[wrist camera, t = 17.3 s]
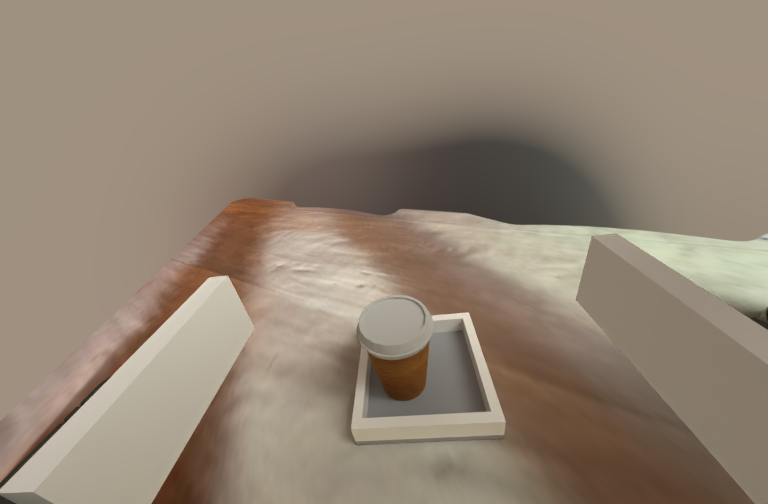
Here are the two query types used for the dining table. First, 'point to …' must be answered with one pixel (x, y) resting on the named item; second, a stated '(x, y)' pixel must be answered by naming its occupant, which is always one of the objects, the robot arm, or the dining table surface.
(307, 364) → the dining table surface
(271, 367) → the dining table surface
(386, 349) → the disposable coffee cup
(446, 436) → the square well
